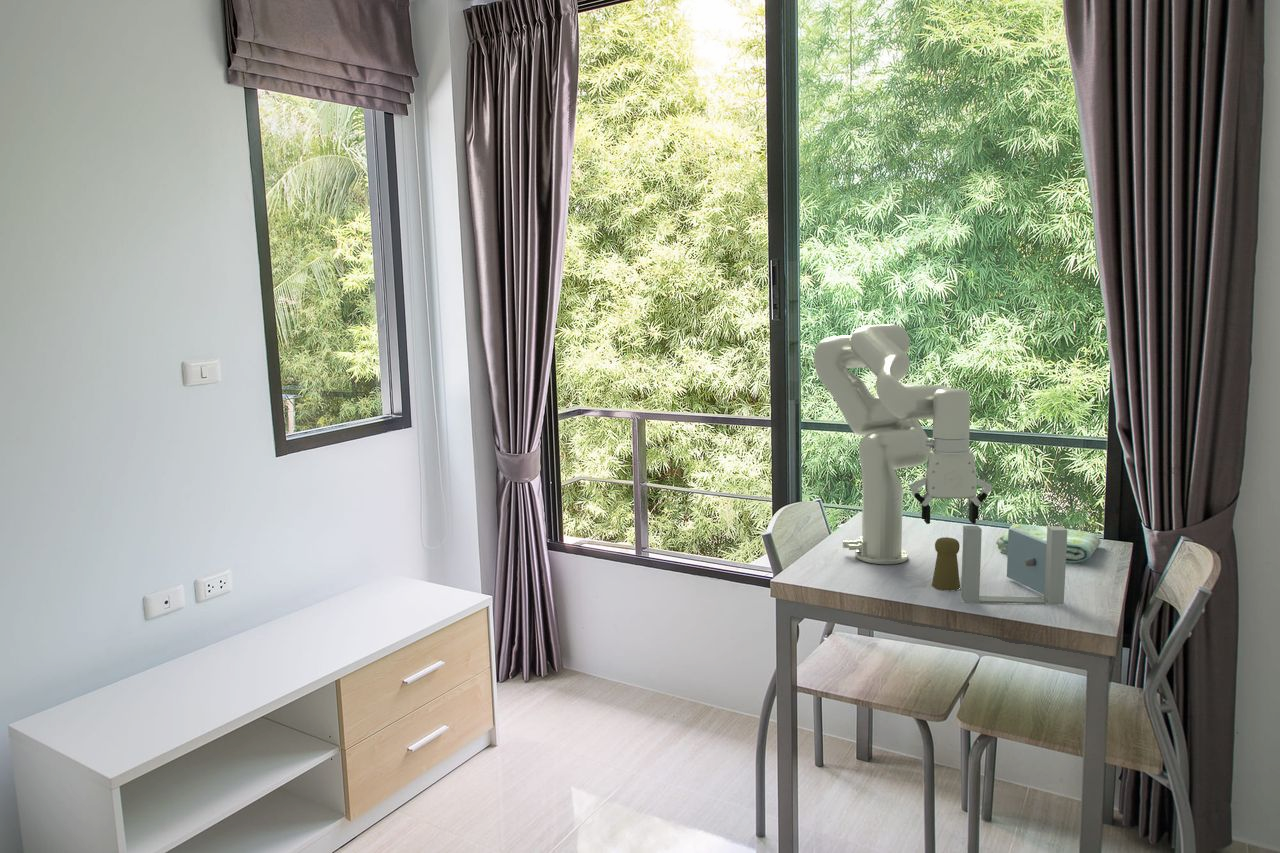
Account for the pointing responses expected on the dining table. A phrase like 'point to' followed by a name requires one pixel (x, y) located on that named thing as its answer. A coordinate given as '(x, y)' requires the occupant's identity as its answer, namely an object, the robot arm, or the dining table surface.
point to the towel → (1077, 541)
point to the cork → (946, 564)
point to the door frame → (1051, 594)
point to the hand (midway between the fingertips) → (949, 522)
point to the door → (1026, 560)
